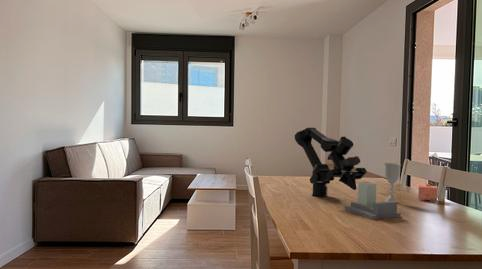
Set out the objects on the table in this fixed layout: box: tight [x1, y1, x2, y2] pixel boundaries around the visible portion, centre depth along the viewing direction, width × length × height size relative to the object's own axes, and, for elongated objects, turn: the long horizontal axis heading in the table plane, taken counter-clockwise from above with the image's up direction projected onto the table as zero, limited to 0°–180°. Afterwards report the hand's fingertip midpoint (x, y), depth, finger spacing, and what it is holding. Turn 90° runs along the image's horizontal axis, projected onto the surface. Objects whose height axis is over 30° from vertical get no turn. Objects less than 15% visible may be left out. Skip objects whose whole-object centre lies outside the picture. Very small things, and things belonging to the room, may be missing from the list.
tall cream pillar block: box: [357, 181, 377, 208], centre depth 140 cm, size 5×5×10 cm
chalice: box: [383, 162, 402, 203], centre depth 159 cm, size 7×7×18 cm
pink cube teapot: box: [417, 183, 438, 203], centre depth 163 cm, size 8×12×8 cm, turn 149°
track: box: [344, 200, 402, 221], centre depth 137 cm, size 16×14×6 cm
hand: (355, 189), depth 146 cm, fingers closed
